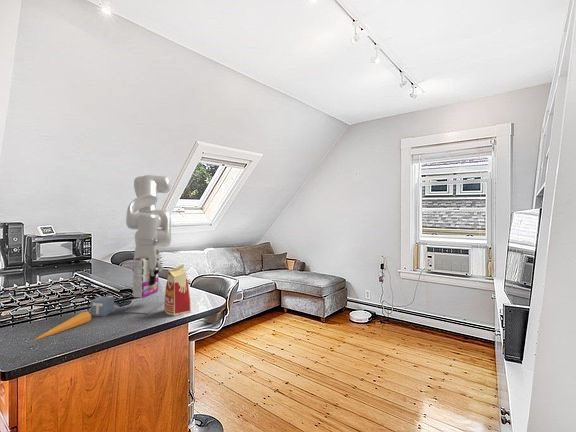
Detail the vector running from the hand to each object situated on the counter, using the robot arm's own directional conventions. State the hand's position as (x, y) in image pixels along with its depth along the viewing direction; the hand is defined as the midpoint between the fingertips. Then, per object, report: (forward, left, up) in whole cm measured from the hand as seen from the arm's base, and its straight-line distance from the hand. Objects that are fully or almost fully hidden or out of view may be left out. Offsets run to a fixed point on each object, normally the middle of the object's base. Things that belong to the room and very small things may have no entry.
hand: (146, 283), depth 139 cm
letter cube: (+10, -13, -11) cm, 19 cm away
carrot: (+28, -15, -11) cm, 34 cm away
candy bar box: (0, 0, -5) cm, 5 cm away
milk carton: (+2, +15, -11) cm, 18 cm away
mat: (0, 0, -10) cm, 10 cm away
